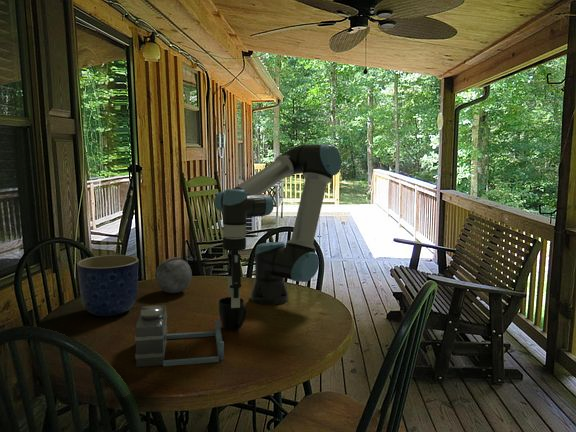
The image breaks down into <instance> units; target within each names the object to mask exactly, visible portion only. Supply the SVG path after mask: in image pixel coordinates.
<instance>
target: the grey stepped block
mask: <svg viewBox="0 0 576 432" xmlns="http://www.w3.org/2000/svg"><path fill="white" fill-rule="evenodd" d="M167 319H168V312H167V305H166V304H161V305H158V304H157V305H144V306H143V305H142V307H141V309H140V313H139V317H138V319H137V322H136V325H135V330H134V331H135V335H134V341H135V355H134V357H135V358H134V359H135V360H136V362H135V363H136V368H143V367H154V366H163V360H165V355H166V347H167V341H168V339H167V334H168V326H167Z"/></svg>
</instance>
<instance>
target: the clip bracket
mask: <svg viewBox="0 0 576 432" xmlns="http://www.w3.org/2000/svg"><path fill="white" fill-rule="evenodd" d="M214 323H215V324H214V326H215V327H214V328H215V330H212V331H197V332H196V331H195V332H183V333H182V332H181V333H167V340H174V339H175V340H177V339H188V338H202V337H203V338H207V337H215V343H216V351H217V356H216V355H215V356H204V357H203V356H202V357H192V358H179V359H176V358H175V359H167V360H165V359H164V360H163V365H162V366H163V367H171V366H183V365H184V366H185V365H194V364H195V365H196V364H197V365H198V364H207V363H208V364H209V363H210V364H211V363H219V362H220V361H223V360H225V341H224V340H223V336H222V331H221V320H215V322H214Z"/></svg>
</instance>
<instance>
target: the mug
mask: <svg viewBox="0 0 576 432" xmlns="http://www.w3.org/2000/svg"><path fill="white" fill-rule="evenodd" d="M244 302H245V300H244V299H243V298H241V297H240V308H231V296H227V297H222V298H220V299H219V300H218V314H219V321H220V324H221V325H222V329H223V330H224V331H226V332H235V331H238V330H240V329H241V328H242V326H243V324H244V323H245V321H246V318H247V315H248V308H247V307H245V306H244V304H245V303H244Z"/></svg>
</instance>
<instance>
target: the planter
mask: <svg viewBox="0 0 576 432" xmlns="http://www.w3.org/2000/svg"><path fill="white" fill-rule="evenodd" d="M139 261H140V260H139V258H138V257H136V256H133V255H128V254H127V255H125V254H107V255H97V256H96V255H95V256H91V257H87V258H84V259H81V260H79V261H78V262H77V263H76V269H77V277H78V282H79V283H78V285H79V292H80V293H79V294H80V299H81V303H82V306H83V307H84V309H85V310H86V312H88V313H89V314H91V315H94V316H97V317H114V316H118V315H122V314H123V313H126V312H127V311H129V310H130V309H131V308H132V307H133V306H134V305H135V302H136V299H137V295H138V285H139V282H138V281H139Z"/></svg>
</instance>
